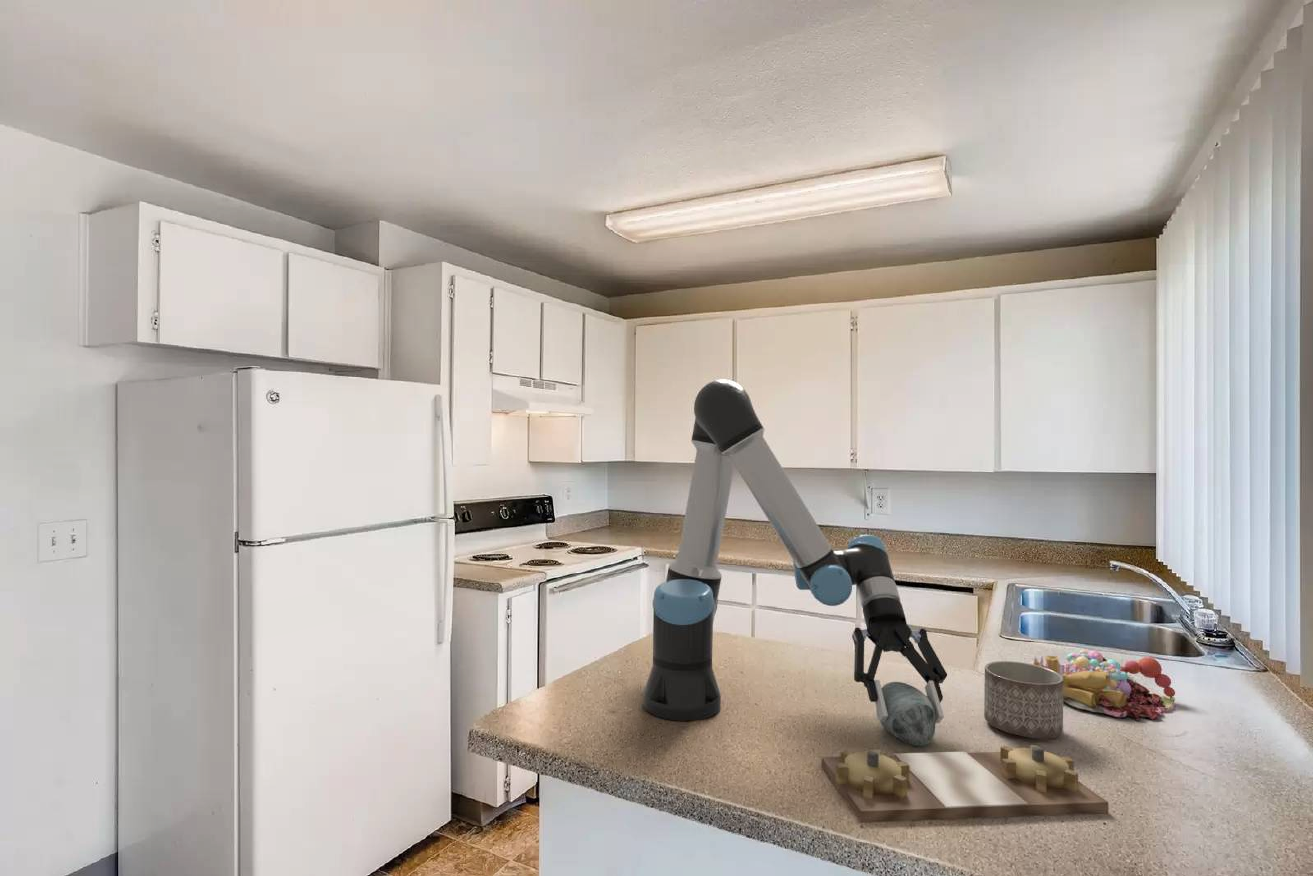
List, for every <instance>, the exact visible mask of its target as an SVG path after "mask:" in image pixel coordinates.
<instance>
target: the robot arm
mask: <svg viewBox="0 0 1313 876" xmlns="http://www.w3.org/2000/svg"><path fill="white" fill-rule="evenodd" d="M693 403H694V405H693V413H694V416H695V418H694V424H693V431H692V435H691V443H692V445H693V446H694V448H695V450H696V453H695V459H694V464H693V470H692V474H691V475H692V476H691V480H690V481H691V482H690V486H689V490H688V497H687V502H686V508H685V513H684V519H683V524H682V528H681V529H682V530H681V531H682V532H681V537H680V541H679V548H678V553H677V557H676V559H675V560H673V561H672V562H671V563H669V565H668V568H667V573H666V574H667V575H666V580H665V582H662V583H660V584H659V585H657V587H656V588H655V590H654V593H653V599H652V609H653V615H652V616H653V620H652V621H653V622H652V623H653V625H652V629H653V630H652V667H651V669H650V671H649V675H648V678H647V681H646V683H645V688H644V689H643V694H642V707H643V709H644V710H645V711H646V712H648V713H649V714H650V715H652V716H655V717H658V718H662V719H666V720H672V721H683V722H684V721H686V722H687V721H698V720H703V719H707V718H710V717H713V716H714V715H716V714H718V713H719V712H720V710H721V705H722V704H721V703H722V700H721V699H722V696H721V693H720V689H719V686H718V682H717V679H716V675H715V672H714V669H713V635H714V634H713V631H714V621H715V616H716V613H717V611H718V610H717V609H718V603H719V594H720V587H721V582H722V577H723V576H722V573H721V571H720V569H719V568H718V567H717V565H718V564H717V563H718V560H719V559H718V558H719V554H720V549H721V543H722V542H721V541H722V537H723V533H724V528H725V527H724V526H725V521H726V515H727V509H728V503H729V498H730V493H731V488H732V482H733V477H734V476H733V475H734V471H735V468H736V470H737V471H738V473H739V474H740V476H741V478H742V479H743V481H744V483H745V485H746V486H747V487H748V489H749V491H750V493H751V494H752V496H753V497H754V499H755V501H756V502H757V504H758V505H759V507H760V509H761V510H762V512H763V514H764V515H765V517H766V518H767V520H768V521H769V524H770V525H771V527H772V529H773V530H774V532H775V533H776V534H777V536H778V538H779V539H780V541H781V542H782V544H783V546H784V548H785V550H786V551H787V553H788V555H789V556H790V558H791V559H792V564H793V571H794V572H793V573H794V579H795V585H796V587H797V589H799V590H800V591H804V590H806V591H810V592H811V594H812V596H813V598H814V599H815V600H817V601H818V602H819V603H821V604H822V605H824V606H828V607H829V606H830V607H837V606H840V605H842V604H844V603H845V602H847V600H848V599H849V598H850V596H851V594H852V592H853V586H856V588H857V593H858V598H859V600H860V604H861V605H860V606H861V608H862V614H863V617H864V618H863V619H864V623H865V626H866V629H865V628H864V629H861V628H859V627H855V628H854V630H853V632H852V636H851V638H852V640H853V643H854V663H853V664H854V668H853V669H854V671H853V680H854V681H855V682H856V683H863V686H864V687H865V688H866V690H867V695H868V700H869V701H870V702H871V703H874V704H875V708H877V712H878V716H877V718H878V717H879V719H878V721H879V723H880V724H881V723H884V722H885V720H886V719H887V717H888V714H887V710H886V705H885V701H884V697H883V693H882V689H881V688H882V685H881V681H880V679H875V677H876V673H877V670H878V667H879V664H880V660H881V658H882V657H881V656H882V654H883V653H887V652H895V653H900V654H901V655H902V657H904V658H906V659H907V661H908V662H909V663H910V664H911V665H912V667H913V668H914V669H915V670H916V672H917V673H918V674H919V675H920V677H921V678H922V679H923V680H924V681H925V682H926V685H925V686H924V690H925V693H926V694H925V695H926V696H927V697H928V699H929V700H930V701H931V703H932V705H933V708H934V711H935V724H940V723H941V721H942V720H943V719H944V718H945V714H944V711H943V709H942V705H941V702H942V701H943V698H944V696H943V693H942V690H941V686H940V684H943V683H944V682H945V680H946V678H947V677H948V674H947V671H946V669H945V668H944V666H943V665H942V662H941V661H940V659H939V656H938V655H937V654H936V652H935V650H934V648H933V646H932V644H931V643H930V641H929V639H928V633H927V630H926V629H925V628H920V630H915V629H911V628H910V626H909V625H908V623H907V618H906V614H905V611H904V608H903V604H902V602H901V596H900V595H899V591H898V588H897V584H896V582H895V581H896V580H895V578H894V574H893V571H892V567H891V566H892V565H891V564H890V563H891V562H890V560H889V554H888V552H887V551H886V547H885V544H884V543H883V541H882V539H880V538H879V537H878V536H875V535H873V534H860V535H859V536H858V537H853V538H852V539H851V540H849V541H848V544H847V548H844V549H843V548H842V549H836V550H833V548H832V546H831V544H830V543H829V541H828V540H827V538H826V537H825V534H824V533H823V532H822V530H821V528H820V527H819V525H818V524H817V521H816V520H815V518H814V517H813V515H812V513H811V512H810V511H809V509H808V508H807V506H806V504H805V502H804V501H803V499H802V498H801V496H800V494H799V493H798V491H797V490H796V487H795V486H794V484H793V483H792V481H791V480H790V478H789V477H788V475H787V473H786V472H785V470H784V469H783V467H782V465H781V464H780V462H779V461H778V459H777V457H776V455H775V454H774V451H772V449H771V447H770V446H769V444H768V443H767V441H766V440H765V437H764V432H765V428H764V426H763V424H762V423H761V421H760V419H759V417H758V416H757V414H756V411H755V410H754V407H753V403H752V401H751V398H750V395H749V394H748V392H747V391H746V389H744V387H742V385H740V384H739V383H737V382H736V381H733V380H730V379H716V380H713V381H711V382H709V383H706V384H705V385H704V386H703V387H701V389H700V390H699V391H698V393H697V394H696V396H695V400H694V402H693ZM867 638H868V639H869V640H870V642H872V643H873V644H874V648H873V652H872V656H871V659H870V663H869V666H868V668H867V672H865V641H866V639H867ZM910 638H912V640H913V641H914V643H915V644H917V647H918V649H919V651H920V653H921V654H920V653H919V652H918V651H917V649H916V648H915V646H914V644H913V642H912V641H911V640H910ZM877 712H876V713H877Z"/></svg>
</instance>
